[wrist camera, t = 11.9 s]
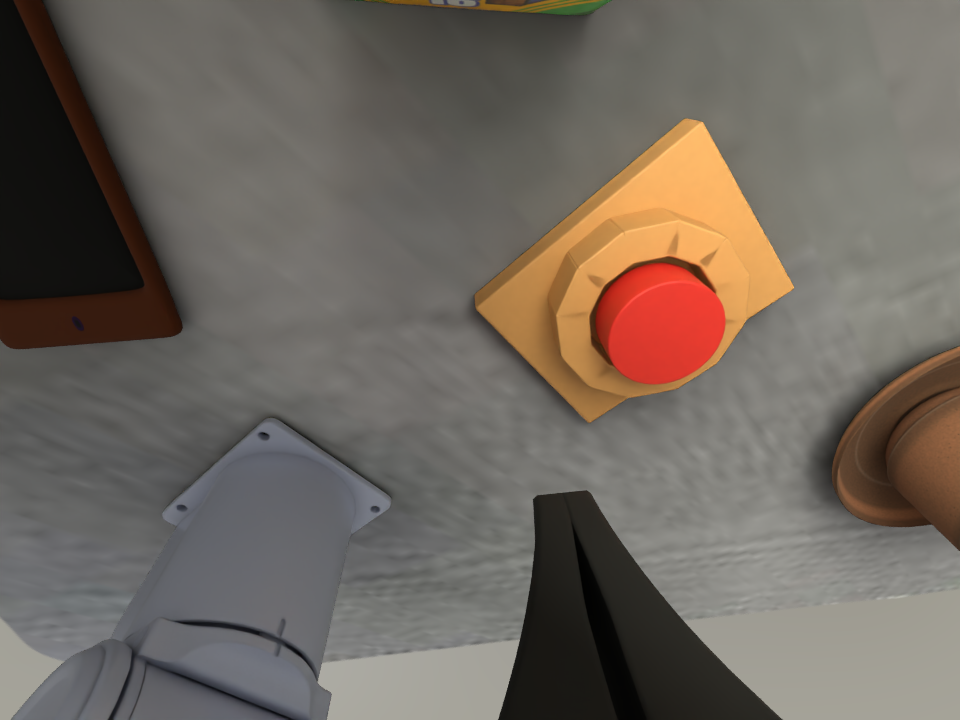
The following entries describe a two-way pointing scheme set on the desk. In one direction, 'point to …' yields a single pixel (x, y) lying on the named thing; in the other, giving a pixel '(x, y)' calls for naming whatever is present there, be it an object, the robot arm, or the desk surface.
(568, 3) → the chalk box
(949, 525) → the cup and saucer
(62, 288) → the smartphone
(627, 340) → the button
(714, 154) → the box
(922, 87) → the desk surface
